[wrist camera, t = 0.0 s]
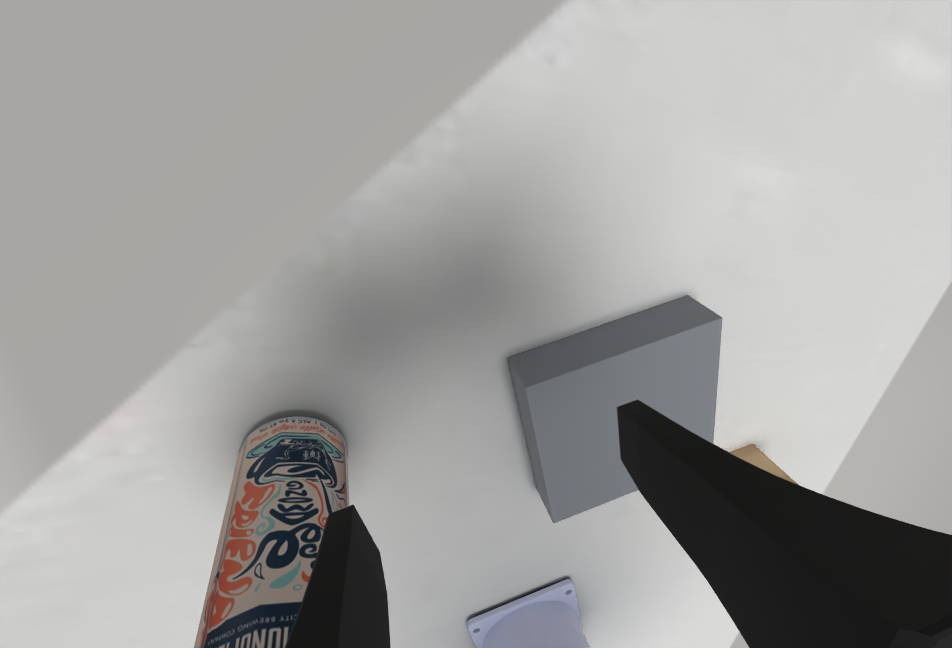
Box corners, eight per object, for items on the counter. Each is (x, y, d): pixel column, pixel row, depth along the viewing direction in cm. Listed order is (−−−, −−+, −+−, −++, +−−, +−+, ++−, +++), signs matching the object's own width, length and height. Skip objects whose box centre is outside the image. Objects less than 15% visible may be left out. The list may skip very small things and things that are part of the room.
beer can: (355, 412, 23) (377, 700, 12) (338, 487, 24) (346, 788, 14) (244, 405, 21) (164, 733, 11) (235, 486, 23) (161, 829, 13)
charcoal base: (679, 426, 30) (711, 460, 28) (533, 482, 29) (553, 523, 26) (682, 291, 25) (722, 317, 22) (504, 353, 24) (525, 387, 21)
